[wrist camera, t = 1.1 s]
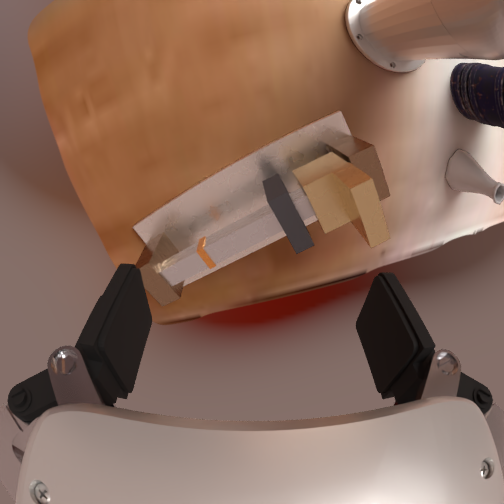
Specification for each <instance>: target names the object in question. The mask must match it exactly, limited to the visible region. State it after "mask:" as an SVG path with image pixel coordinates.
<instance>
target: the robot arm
mask: <svg viewBox="0 0 504 504" xmlns="http://www.w3.org/2000/svg"><path fill="white" fill-rule="evenodd" d="M345 20H346V27H347V30H348V33H349V35H350V37H351V39H352V41H353V43H354V44H355V45H356V47H357V48H358V50H359V51H360V52H361V53H362V54H363V55H364V56H365V57H366V58H368V59H369V60H370V61H371V62H372V63H374V64H376V65H377V66H379V67H381V68H383V69H386V70H389V71H393V72H410V71H413V70H416V69H417V68H419V67H420V66H421V65H422V64H423V63H424V62H425V60H426V59H485V60H501V59H504V0H351V1H350V2H349V3H348V6H347V8H346V14H345ZM357 37H358V39H357ZM390 65H391V66H390ZM151 324H152V316H151V312H150V308H149V305H148V301H147V297H146V293H145V288H144V284H143V280H142V276H141V271H140V269H139V268H136V266H135V265H134V264H120V265H119V267H118V269H117V271H116V272H115V274H114V275H113V277H112V279H111V281H110V283H109V284H108V286H107V288H106V290H105V292H104V294H103V295H102V296H100V298H99V299H98V301H97V303H96V305H95V307H94V309H93V311H92V313H91V314H90V316H89V318H88V320H87V323H86V325H85V326H84V329H83V330H82V333H81V335H80V337H79V339H78V341H77V343H76V345H75V347H72V346H62V347H59V348H58V349H56V350H55V351H54V352H53V353H52V354H51V355H50V357H49V359H48V363H47V366H48V369H46V370H44V371H42V372H40V373H38V374H36V375H34V376H32V377H30V378H28V379H27V380H25V381H23V382H21V383H19V384H17V385H16V386H14V387H13V388H12V389H11V391H10V393H9V395H8V405H7V406H6V405H5V404H3V405H2V406H1V407H0V481H1V482H2V484H3V486H4V487H5V489H6V490H7V492H8V493H9V494H10V496H11V497H12V499H13V500H14V501H15V503H16V504H504V480H503V475H502V469H503V467H504V412H503V411H502V409H501V408H500V407H499V406H498V405H497V404H496V403H494V404H492V401H493V399H492V395H491V393H490V391H489V390H488V388H487V387H486V386H484V385H483V384H481V383H479V382H477V381H476V380H474V379H472V378H470V377H469V376H467V375H465V374H464V373H462V372H461V364H460V361H459V359H458V357H457V356H456V355H455V354H454V353H453V352H451V351H449V350H446V349H440V350H437V351H436V352H435V350H434V348H435V344H434V342H433V340H432V338H431V336H430V334H429V332H428V330H427V329H426V327H425V325H424V323H423V321H422V320H421V318H420V316H419V314H418V313H417V311H416V309H415V307H414V306H413V304H412V302H411V301H410V299H409V297H408V296H407V294H406V292H405V291H404V289H403V288H402V286H401V284H400V283H399V281H398V279H397V278H396V276H395V275H394V274H393V273H379V274H378V276H376V277H375V278H374V281H373V283H372V286H371V288H370V291H369V293H368V295H367V298H366V300H365V303H364V305H363V308H362V310H361V312H360V314H359V317H358V319H357V321H356V329H357V332H358V335H359V337H360V340H361V343H362V346H363V349H364V352H365V355H366V358H367V360H368V364H369V367H370V370H371V373H372V376H373V379H374V382H375V385H376V388H377V391H378V392H379V393H381V395H382V399H386V398H390V397H395V400H396V401H395V404H394V406H390V407H385V408H380V409H376V410H371V411H365V412H359V413H353V414H346V415H339V416H331V417H323V418H313V419H303V420H302V419H301V420H286V421H218V420H204V419H192V418H181V417H173V416H166V415H158V414H151V413H144V412H138V411H132V410H127V409H122V408H117V407H116V405H115V403H116V400H117V397H118V398H123V399H127V396H128V393H131V392H132V391H133V388H134V384H135V380H136V376H137V373H138V369H139V365H140V361H141V358H142V355H143V351H144V348H145V344H146V341H147V338H148V334H149V331H150V327H151Z"/></svg>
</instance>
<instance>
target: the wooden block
mask: <svg viewBox="0 0 504 504" xmlns="http://www.w3.org/2000/svg"><path fill="white" fill-rule="evenodd" d="M292 172H293V174H294V176H295V177H296V179H297V181H298V183H299V185H300V187H302V189H303V190H304V192H305V194H306V196H307V198H308V200H309V202H310V204H311V206H312V208H313V210H314V212H315V214H316V215H315V217H316V219H317V220H318V222H319V224H320V226H321V227H322V229H323V231H324V233H325V234H326V233H328V232H330V231H332V230H334V229H336V228H338V227H340V226H342V225H344V224H346V223H348V222H350V221H351V222H352V224H353V225H354V226H355V227H356V229H357V230H358V231H359V233H360V234H361V235H362V237H363V238H364V239H365V241H366V242H367V243H368V245H369V246H370V247H371V248H373V247H375V246H377V245H379V244H380V243H382V242H384V241H386V240H388V239H390V236H389V232H388V228H387V224H386V221H385V217H384V214H383V210H382V207H381V204H380V200H379V197H378V194H377V191H376V188H375V185H374V182H373V179H372V178H371V177H370V176H368V175H367V174H366V173H364V172H363V171H361V170H360V169H358V168H357V167H356V166H354V165H353V164H351V163H350V162H349V163H348V162H346V161H345V160H343V159H342V158H340V157H339V156H337V155H336V154H334V153H333V152H330V153H328V154H326V155H324V156H322V157H320V158H318V159H316V160H313V161H311V162H309V163H307V164H305V165H303V166H301V167H299V168H297V169H295V170H293V171H292Z"/></svg>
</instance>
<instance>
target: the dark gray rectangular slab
mask: <svg viewBox="0 0 504 504" xmlns="http://www.w3.org/2000/svg"><path fill="white" fill-rule="evenodd" d="M262 182H263V186H264V190H265V194H266V198H267V202H268V204H269V206H270V207H271V209H272V211H273V213H274V214H275V216H276V218H277V220H278V221H279V223H280V225H281V227H282V229H283V230H284V232H285V234H286V236H287V237H288V239H289V241H290V243H291V245H292V246H293V248H294V250H295V252H296V254H298V253H300V252H302V251H304V250H306V249H308V248H310V247H312V246H314V243H313V241H312V239H311V237H310V235H309V232H308V230H307V228H306V226H305V224H304V222H303V221H302V219H301V217H300V215H299V213H298V211H297V209H296V207H295V205H294V204H293V202H292V200H291V198H290V195H289V193H288V191H287V189H286V187H285V185H284V183H283V181H282V179H281V178H280V176H279V174H278V173H277V174H275V175H273V176H272V177H270V178H268V179H266V180H264V181H262Z"/></svg>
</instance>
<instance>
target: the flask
mask: <svg viewBox="0 0 504 504" xmlns="http://www.w3.org/2000/svg"><path fill="white" fill-rule="evenodd" d="M445 178H446V179H447V181H448V183H449V185H450V187H451V189H454V190H458V191H462V192H473V193H480V194H484V195H487V196H489V197H490V198H492V199H493V201H494V202H495V203H496V204H501V202H502V201H503V200H504V184H502V183H500V182H498V183H497V182H496V181H494V180H493V179H492V178H491V177H490V176H489V175H488V174H487V173H486V172H485V171H484V170H483V169H482V168H481V166H480V165H479V164H478V163H477V162H476V161H475V159H474V158H473V157H472V156H471V155H470V154H469V153H468V152H465V151H463V150H460V149H458V150H457V151H456V152H455V153H454V155H453V156H452V157H451V158H450V159H449V162H448V167H447V171H446V175H445Z"/></svg>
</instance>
